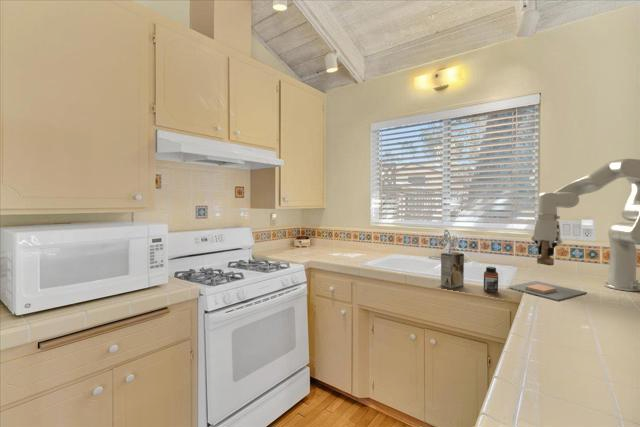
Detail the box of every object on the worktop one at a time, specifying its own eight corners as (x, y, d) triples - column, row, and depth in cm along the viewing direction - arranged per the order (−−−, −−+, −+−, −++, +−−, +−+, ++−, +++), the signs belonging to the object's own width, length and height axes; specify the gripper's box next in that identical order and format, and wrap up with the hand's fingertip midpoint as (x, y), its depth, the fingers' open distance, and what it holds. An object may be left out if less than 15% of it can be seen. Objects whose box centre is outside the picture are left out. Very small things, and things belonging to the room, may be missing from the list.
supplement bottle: (486, 288, 153) (486, 265, 153) (499, 291, 149) (500, 267, 149) (481, 291, 149) (482, 267, 149) (495, 294, 145) (496, 269, 145)
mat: (586, 293, 146) (586, 292, 146) (557, 301, 135) (557, 299, 135) (535, 282, 166) (535, 281, 166) (506, 288, 155) (506, 286, 155)
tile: (556, 288, 147) (543, 290, 143) (556, 291, 147) (543, 294, 143) (537, 283, 154) (525, 286, 150) (537, 287, 154) (525, 289, 150)
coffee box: (453, 283, 164) (453, 251, 163) (463, 286, 158) (464, 253, 157) (440, 285, 160) (440, 253, 159) (450, 288, 154) (451, 255, 153)
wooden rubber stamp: (553, 265, 157) (555, 238, 156) (549, 265, 155) (551, 238, 154) (540, 262, 162) (541, 237, 161) (536, 263, 160) (537, 237, 160)
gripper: (570, 218, 152) (569, 257, 153) (534, 216, 166) (532, 251, 167) (562, 219, 148) (560, 258, 149) (525, 216, 163) (523, 252, 164)
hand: (545, 254), depth 158 cm, fingers closed on wooden rubber stamp, 3 cm apart
